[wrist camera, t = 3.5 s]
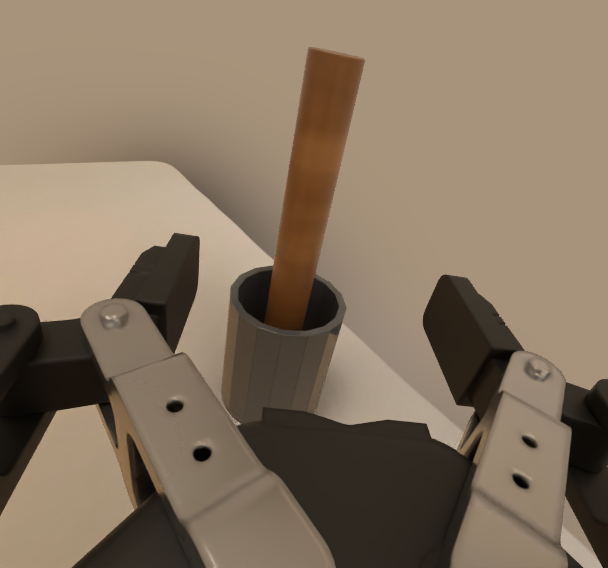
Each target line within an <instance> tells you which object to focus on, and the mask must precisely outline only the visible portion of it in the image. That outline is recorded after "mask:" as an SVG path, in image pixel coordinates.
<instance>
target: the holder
mask: <svg viewBox="0 0 608 568" xmlns="http://www.w3.org/2000/svg"><path fill="white" fill-rule="evenodd" d="M272 271H273V266H267V267H260V268H254V269H252V270H250V271H248V272H246V273H244V274H241V275H240V276H239V277H238V278H237V279H236V281H235V282H234V283H233V284H232V286H231V289H230V300H229V311H228V322H227V333H226V344H225V355H224V366H223V377H222V398H223V401H224V404H225V406H226V408H227V410H228V411H229V412H230V414H231V415H232V416H233V417H234V418H235V419H236V420H238V421H239V422H240V423H242V424H244V423H248V422H252V421H259V420H261V414H262V409H263V407H268V408H278V409H288V410H297V411H305V412H308V413H312V414H313V413H314V411H315V409H316V407H317V403H318V400H319V397H320V394H321V390H322V387H323V384H324V380H325V377H326V374H327V371H328V367H329V364H330V361H331V357H332V354H333V351H334V348H335V344H336V341H337V338H338V334H339V331H340V328H341V325H342V321H343V318H344V315H345V311H346V305H345V303H344V300H343V297H342V295H341V293H340V292H339V291H338V290H337V289H336V288H335V287H334V286H333V285H332V284H331V283H330V282H329V281H327V280H325V279H323V278H322V277H320V276H318V275H316V274H315V277H314V281H313V286H312V290H311V294H310V299H309V303H308V307H307V311H306V316H305V320H304V324H303V329H302V331H296V330H282V329H279V328H276V327H273V326H270V325H267V324H264V321H265V315H266V309H267V303H268V296H269V290H270V284H271V278H272Z"/></svg>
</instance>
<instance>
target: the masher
mask: <svg viewBox="0 0 608 568" xmlns="http://www.w3.org/2000/svg"><path fill="white" fill-rule="evenodd" d="M364 63H365V60H364V59H363V58H360V57H356V56H352V55H348V54H343V53H339V52H335V51H330V50H325V49H320V48H313V47H309V48H308V53H307V58H306V65H305V71H304V77H303V84H302V90H301V96H300V102H299V108H298V116H297V122H296V128H295V134H294V140H293V147H292V152H291V159H290V165H289V171H288V177H287V184H286V190H285V196H284V202H283V209H282V215H281V222H280V227H279V234H278V240H277V246H276V253H275V259H274V265H273V271H272V278H271V284H270V290H269V296H268V303H267V309H266V315H265V321H264V324H267V325H270V326H273V327H276V328H279V329H282V330H296V331H302V329H303V324H304V320H305V316H306V311H307V307H308V303H309V299H310V294H311V290H312V286H313V281H314V277H315V273H316V268H317V264H318V260H319V256H320V251H321V247H322V243H323V238H324V234H325V230H326V226H327V221H328V217H329V213H330V208H331V204H332V200H333V196H334V191H335V187H336V182H337V178H338V174H339V170H340V166H341V161H342V157H343V153H344V149H345V144H346V140H347V136H348V131H349V127H350V122H351V119H352V114H353V110H354V106H355V101H356V97H357V93H358V88H359V84H360V80H361V76H362V71H363V67H364Z"/></svg>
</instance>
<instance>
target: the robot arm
mask: <svg viewBox="0 0 608 568" xmlns="http://www.w3.org/2000/svg"><path fill="white" fill-rule="evenodd" d="M199 248H200V240H199V237H198V236H192V235H185V234H179V233H174V234H173V235H172V237H171V239H170V241H169V242H168V244H167V246H166V247H159V246H153V247H152V248H150V249H148V250H146V251H145V252H143V253H142V254H141V255H140V257H139V258H138V260H137V261H136V262H135V265H133V267H132V268H131V270H130V273H128V274H127V276H126V277H125V279H124V280H123V282H122V283H121V285H120V286H119V288H118V289H117V291H116V292H115V293H114V295H113V296H112V298H111V299H108V300H103V301H100V302H97V303H95V304H93V305H91V306H90V307H88V308H87V309H86V310H85V311H84V312H83V314H82V316H81V318H78V319H73V320H63V321H51V322H40V319H39V316H38V314H37V312H36V311H35V310H33V309H32V308H29V307H26V306H22V305H1V306H0V515H1V513H2V511H3V509H4V508H5V506H6V504H7V502H8V500H9V498H10V497H11V495H12V493H13V491H14V489H15V487H16V485H17V484H18V482H19V480H20V478H21V476H22V474H23V472H24V471H25V469H26V467H27V465H28V463H29V461H30V459H31V458H32V456H33V454H34V452H35V450H36V448H37V446H38V445H39V443H40V441H41V439H42V437H43V435H44V433H45V432H46V430H47V428H48V426H49V424H50V422H51V420H52V419H53V417H54V415H55V413H56V411H57V410H63V409H70V408H76V407H82V406H88V405H94V404H95V405H96V407H97V410H98V412H99V415H100V417H101V420H102V422H103V425H104V427H105V429H106V432H107V434H108V437H109V439H110V442H111V444H112V447H113V449H114V452H115V454H116V457H117V459H118V462H119V465H120V468H121V472H122V476H123V479H124V483H125V486H126V489H127V492H128V495H129V498H130V500H131V503H132V505H133V508H134V510H135V511H134V512H132V513H131V514H130V515H129V516H128V517H127V518H126V519H125V520H124V521H123V522H121V523H120V524H119V525H118V526H117V527H116V528H115V529H114V530H113V531H111V532H110V533H109V534H108V535H107V536H106V537H105V538H104V539H103V540H102V541H100V542H99V543H98V544H97V545H96V546H95V547H94V548H93V549H92V550H91V551H89V552H88V553H87V554H86V555H85V556H84V557H83V558H82V559H81V560H80V561H78V562H77V563H76V564H75V565H74V566H73V567H72V568H583V567H582V566H581V565H580V564H579V563H578V562H577V561H576V560H575V559H574V558H572V557H571V556H570V555H569V554H568V553H567V552H566V551H565V550H564V549H563V548H562V547H561V543H560V538H561V528H562V519H563V508H564V500H565V497H566V498H567V500H568V502H569V504H570V506H571V508H572V510H573V512H574V513H575V516H576V517H577V519H578V521H579V523H580V525H581V527H582V529H583V531H584V533H585V535H586V536H587V538H588V540H589V542H590V544H591V546H592V548H593V550H594V552H595V554H596V556H597V558H598V559H599V561H600V563H601V565H602V567H603V568H608V467H607V466H608V379H602V380H599V381H598V382H597V383H596V384H595V386H594V387H593V388H592V389H591V390H587V389H584V388H581V387H578V386H575V385H573V384H570V383H567V382H566V380H565V377H564V375H563V374H562V372H561V371H560V370H559V369H558V368H557V367H556V366H555V365H554V364H553V363H551V362H550V361H548V360H547V359H545V358H543V357H541V356H539V355H537V354H534V353H532V352H528V351H524V349H523V348H522V346H521V345H520V343H519V342H518V341H517V339H516V338H515V337H514V335H513V334H512V332H511V331H510V329H509V328H508V327H507V326H505V322H504V321H503V320H502V318H501V317H499V314H498V313H497V311H496V310H495V308H494V307H493V305H492V304H490V303H489V302H488V301H487V300H486V299H485V298H483V297H482V296H481V295H479V294H478V293H477V291H476V290H475V288H474V287H473V285H472V284H471V283H470V281H469V280H468V279H467V278H464V277H458V276H451V275H443V276H441V277H440V279H439V280H438V283H437V285H436V287H435V289H434V292H433V294H432V296H431V298H430V300H429V303H428V305H427V307H426V309H425V312H424V315H423V327H424V330H425V332H426V335H427V337H428V339H429V342H430V344H431V346H432V349H433V351H434V353H435V356H436V358H437V360H438V363H439V365H440V367H441V370H442V372H443V374H444V376H445V379H446V381H447V383H448V386H449V388H450V391H451V393H452V395H453V398H454V400H455V402H456V404H457V405H460V406H470V407H474V409H475V412H474V413H473V415H472V416H471V418H470V420H469V422H468V424H467V427H466V429H465V431H464V434H463V436H462V438H461V441H460V443H459V445H458V448H457V450H455V449H453V448H451V447H450V446H448V445H446V444H444V443H442V442H440V441H437V440H435V439H432V438H431V436H430V433H429V430H428V427H427V424H424V423H414V422H404V421H395V420H383V421H376V422H369V423H362V424H355V425H346V424H342V423H339V422H336V421H333V420H330V419H327V418H324V417H321V416H318V415H315V414H312V413H308V412H305V411H297V410H288V409H278V408H268V407H263V409H262V414H261V420H259V421H252V422H248V423H244V424H241V425H239V426H236V425H235V424H234V423H233V421H232V420H231V418H230V417H229V415H228V414H227V412H226V411H225V409H224V408H223V406H222V405H221V403H220V402H219V400H218V399H217V397H216V396H215V395H214V393H213V392H212V390H211V389H210V387H209V386H208V384H207V383H206V381H205V380H204V378H203V377H202V375H201V374H200V372H199V371H198V369H197V368H196V366H195V365H194V364H193V362H192V361H191V359H190V358H189V356H188V355H187V354H185V353H183V352H182V353H179V354H176V355H174V353H175V350H176V348H177V345H178V342H179V339H180V337H181V334H182V331H183V329H184V326H185V323H186V321H187V318H188V315H189V312H190V310H191V307H192V304H193V302H194V299H195V296H196V292H197V286H198V274H199Z"/></svg>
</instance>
